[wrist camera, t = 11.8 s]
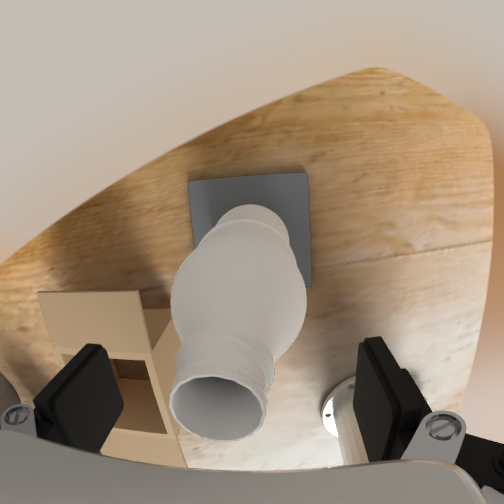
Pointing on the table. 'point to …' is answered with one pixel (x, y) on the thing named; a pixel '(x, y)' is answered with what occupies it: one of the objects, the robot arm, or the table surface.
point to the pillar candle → (7, 396)
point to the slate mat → (258, 193)
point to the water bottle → (234, 323)
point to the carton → (130, 348)
